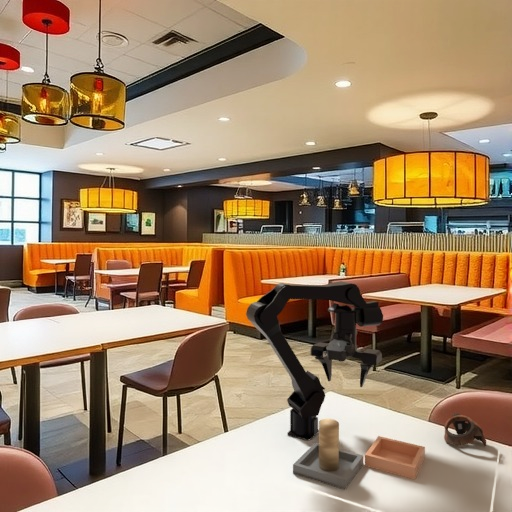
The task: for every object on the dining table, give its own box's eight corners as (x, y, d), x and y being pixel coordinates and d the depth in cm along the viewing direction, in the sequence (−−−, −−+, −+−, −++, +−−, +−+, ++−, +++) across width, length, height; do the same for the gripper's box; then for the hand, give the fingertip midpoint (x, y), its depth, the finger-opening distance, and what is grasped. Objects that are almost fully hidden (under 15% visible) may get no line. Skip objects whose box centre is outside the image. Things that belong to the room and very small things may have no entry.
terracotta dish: (364, 467, 101) (364, 454, 101) (378, 447, 110) (378, 436, 110) (414, 481, 95) (415, 467, 95) (424, 459, 105) (425, 446, 105)
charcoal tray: (293, 475, 98) (293, 464, 98) (315, 452, 108) (315, 442, 108) (344, 491, 92) (345, 480, 91) (363, 466, 102) (363, 455, 102)
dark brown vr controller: (496, 455, 108) (485, 430, 106) (459, 469, 109) (447, 444, 107) (474, 422, 119) (464, 399, 117) (441, 435, 121) (430, 412, 119)
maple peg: (315, 468, 99) (315, 424, 99) (323, 459, 103) (323, 417, 102) (334, 473, 97) (334, 428, 96) (341, 464, 100) (341, 421, 100)
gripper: (302, 329, 120) (301, 386, 120) (370, 337, 110) (369, 399, 111) (318, 322, 129) (318, 375, 130) (382, 329, 119) (382, 386, 120)
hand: (345, 383), depth 122 cm, fingers open, 9 cm apart
